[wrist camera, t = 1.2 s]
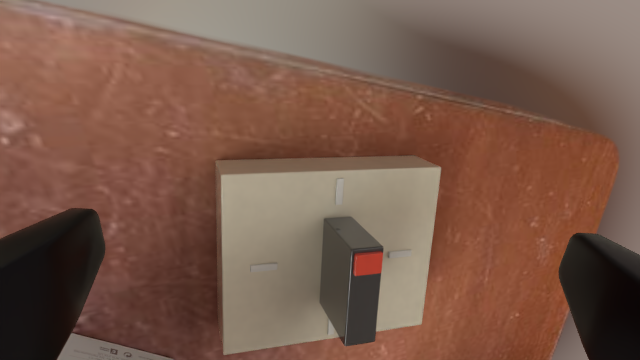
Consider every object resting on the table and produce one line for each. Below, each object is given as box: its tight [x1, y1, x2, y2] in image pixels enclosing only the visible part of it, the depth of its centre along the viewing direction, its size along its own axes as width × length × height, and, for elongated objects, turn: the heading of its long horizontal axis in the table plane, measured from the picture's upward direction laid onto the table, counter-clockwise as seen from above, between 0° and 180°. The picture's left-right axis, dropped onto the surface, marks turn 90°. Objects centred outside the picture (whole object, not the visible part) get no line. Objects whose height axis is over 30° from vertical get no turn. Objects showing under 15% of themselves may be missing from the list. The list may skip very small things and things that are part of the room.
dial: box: [319, 216, 384, 346], centre depth 22 cm, size 5×2×4 cm, turn 178°
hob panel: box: [215, 155, 441, 355], centre depth 26 cm, size 10×12×3 cm
